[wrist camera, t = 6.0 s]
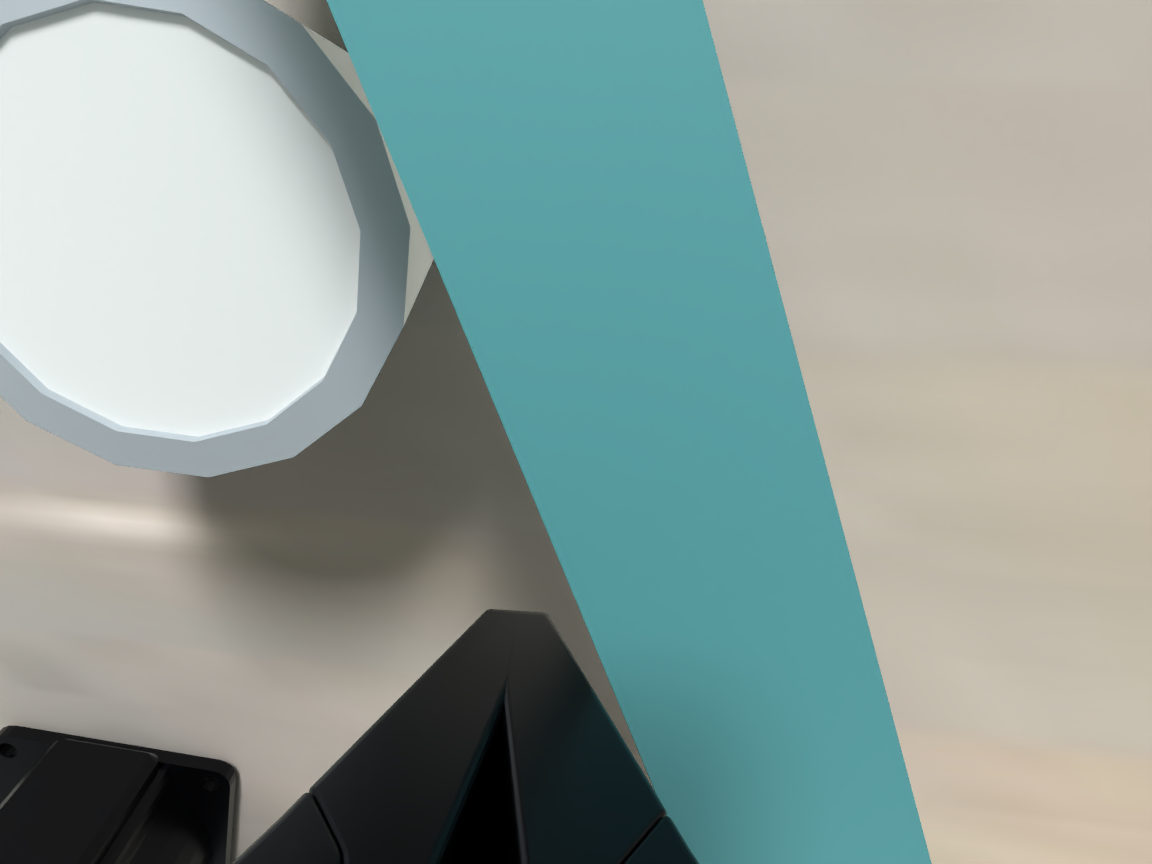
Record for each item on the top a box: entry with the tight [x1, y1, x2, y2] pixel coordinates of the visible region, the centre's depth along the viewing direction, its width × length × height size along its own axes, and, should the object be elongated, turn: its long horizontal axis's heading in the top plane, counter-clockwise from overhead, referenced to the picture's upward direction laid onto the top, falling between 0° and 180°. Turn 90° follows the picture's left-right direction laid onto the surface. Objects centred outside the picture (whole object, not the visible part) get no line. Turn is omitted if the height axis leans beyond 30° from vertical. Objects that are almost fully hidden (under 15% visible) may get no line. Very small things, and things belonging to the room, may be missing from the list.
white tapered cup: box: [0, 0, 434, 477], centre depth 14 cm, size 7×7×7 cm
